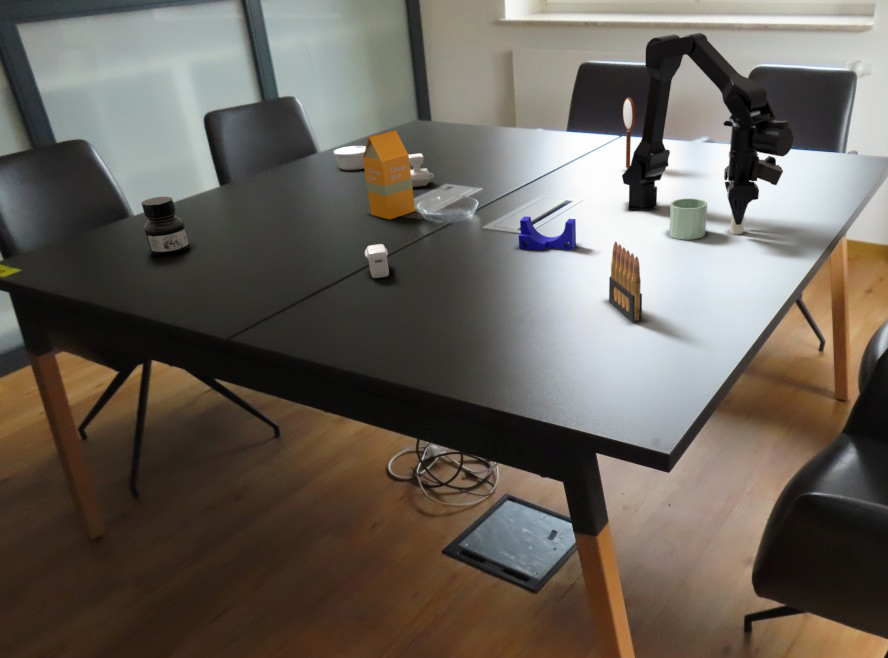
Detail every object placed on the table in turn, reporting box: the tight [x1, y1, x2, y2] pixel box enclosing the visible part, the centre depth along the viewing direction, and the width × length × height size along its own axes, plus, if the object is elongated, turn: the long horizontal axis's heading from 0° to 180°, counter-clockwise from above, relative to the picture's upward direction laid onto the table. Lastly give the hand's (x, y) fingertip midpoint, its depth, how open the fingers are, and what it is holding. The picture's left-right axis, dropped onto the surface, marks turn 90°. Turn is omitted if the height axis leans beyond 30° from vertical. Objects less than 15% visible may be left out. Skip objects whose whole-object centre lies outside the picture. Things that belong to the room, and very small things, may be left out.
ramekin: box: [333, 145, 366, 171], centre depth 257 cm, size 11×11×5 cm
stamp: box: [408, 153, 435, 188], centre depth 233 cm, size 9×7×8 cm
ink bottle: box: [141, 196, 190, 257], centre depth 194 cm, size 10×9×12 cm
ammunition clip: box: [608, 240, 643, 323], centre depth 149 cm, size 11×2×12 cm, turn 18°
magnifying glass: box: [622, 96, 636, 170], centre depth 231 cm, size 9×2×20 cm, turn 12°
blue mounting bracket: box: [518, 216, 577, 251], centre depth 183 cm, size 12×4×6 cm, turn 71°
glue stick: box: [729, 212, 745, 235], centre depth 184 cm, size 3×3×8 cm
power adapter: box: [364, 243, 390, 279], centre depth 176 cm, size 11×5×6 cm, turn 13°
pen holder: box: [668, 197, 708, 241], centre depth 185 cm, size 8×8×7 cm
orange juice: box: [363, 129, 416, 220], centre depth 208 cm, size 8×9×20 cm
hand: (737, 220), depth 185 cm, fingers open, 6 cm apart
